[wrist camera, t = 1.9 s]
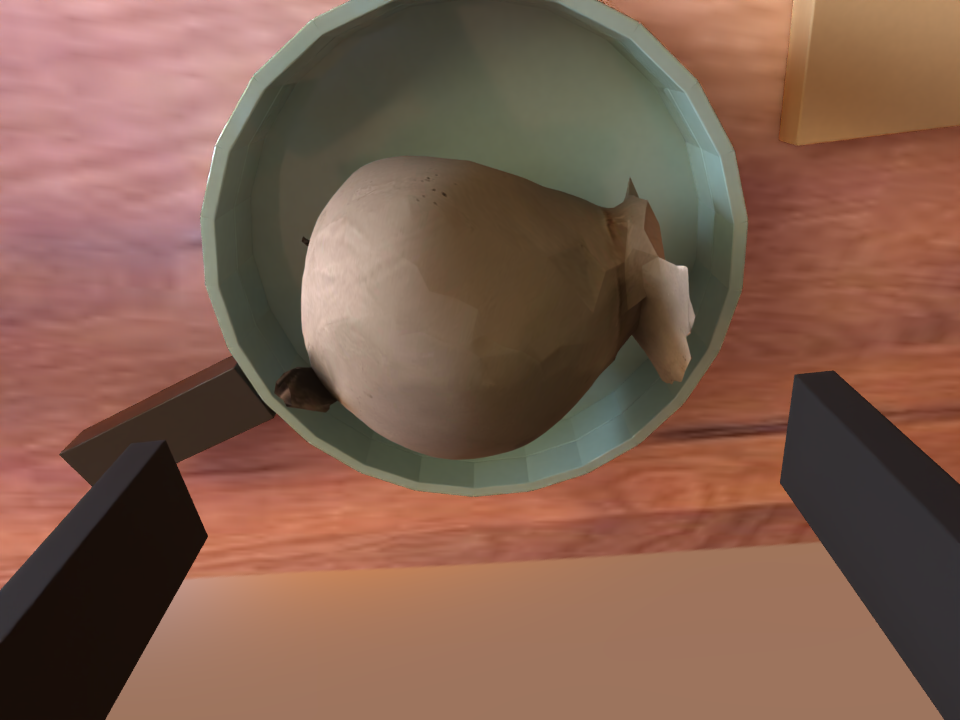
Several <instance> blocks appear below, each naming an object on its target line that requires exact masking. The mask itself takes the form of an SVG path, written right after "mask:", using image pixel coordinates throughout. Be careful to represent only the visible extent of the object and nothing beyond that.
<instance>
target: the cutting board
mask: <svg viewBox="0 0 960 720" xmlns="http://www.w3.org/2000/svg"><path fill="white" fill-rule="evenodd" d="M954 126H960V0H793V8H792V18H791V27H790V37H789V46H788V56H787V65H786V75H785V84H784V94H783V104H782V113H781V123H780V132H779V140H780V141H783V142H786V143H789V144H793V145H796V146H802V145H810V144H818V143H826V142H834V141H842V140H850V139H858V138H866V137H874V136H882V135H890V134H898V133H906V132H914V131H922V130H930V129H938V128H946V127H954Z"/></svg>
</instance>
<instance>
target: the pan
mask: <svg viewBox="0 0 960 720" xmlns="http://www.w3.org/2000/svg"><path fill="white" fill-rule="evenodd" d="M253 76H254V77H252V78H251V80H250V82H249V83H248V85H247V87H246V89H245V91H244V93H243V94H242V96H241V98H240V100H239V102H238V103H237V105H236V107H235V109H234V111H233V113H232V114H231V116H230V118H229V120H228V122H227V124H226V125H225V127H224V129H223V131H222V133H221V134H220V136H219V138H218V140H217V142H216V145H215V147H214V152H213V157H212V162H211V167H210V171H209V176H208V181H207V186H206V191H205V195H204V200H203V205H202V210H201V214H200V215H201V217H200V223H201V236H202V249H203V262H204V275H205V285H206V289H207V292H208V295H209V297H210V300H211V303H212V306H213V309H214V311H215V314H216V317H217V320H218V323H219V325H220V328H221V331H222V334H223V337H224V339H225V342H226V345H227V347H228V349H229V351H230V353H231V354H232V356H233V357H234V359H235V360H236V362H237V363H238V365H239V366H240V367H241V369H242V370H243V372H244V373H245V375H246V376H247V378H248V379H249V381H250V382H251V384H252V385H253V387H254V388H255V390H256V391H257V393H258V394H259V396H260V397H261V399H262V400H263V401H264V402H265V403H266V404H267V405H268V406H269V407H270V408H271V409H272V410H273V411H274V412H275V413H276V414H278V415H279V416H280V417H281V418H282V419H283V420H284V421H285V422H286V423H287V424H288V425H289V426H291V427H292V428H293V429H294V430H295V431H296V432H297V433H298V434H299V435H300V436H301V437H302V438H304V439H305V440H306V441H307V442H309V444H311V445H313V446H315V447H316V448H318V449H320V450H322V451H323V452H325V453H327V454H328V455H330V456H332V457H334V458H335V459H337V460H339V461H341V462H342V463H344V464H346V465H348V466H349V467H351V468H353V469H354V470H356V471H358V472H361V473H362V474H365V475H368V476H372V477H375V478H378V479H381V480H384V481H387V482H390V483H393V484H396V485H399V486H402V487H406V488H409V489H412V490H416V491H423V492H432V493H441V494H451V495H460V496H469V497H473V496H474V497H478V496H489V495H499V494H509V493H519V492H529V491H531V490H532V491H534V490H537V489H540V488H544V487H547V486H550V485H553V484H556V483H560V482H563V481H566V480H569V479H572V478H575V477H579V476H582V475H585V474H587V473H590V472H591V471H593V470H595V469H597V468H598V467H600V466H602V465H604V464H605V463H607V462H609V461H611V460H613V459H614V458H616V457H618V456H620V455H621V454H623V453H625V452H627V451H628V450H630V449H632V448H634V447H635V446H637V445H638V444H640V443H641V442H642V441H643V440H645V439H646V438H647V437H648V436H649V435H650V434H651V433H652V432H653V431H654V430H656V429H657V428H658V427H659V426H660V425H661V424H662V423H663V422H664V421H665V420H667V419H668V418H669V417H670V416H671V415H672V414H673V413H674V412H675V411H677V410H678V409H679V408H680V407H681V406H682V405H683V403H685V402H686V400H687V399H688V397H689V396H690V394H691V393H692V391H693V390H694V388H695V387H696V386H697V384H698V383H699V381H700V380H701V378H702V377H703V375H704V374H705V372H706V371H707V369H708V368H709V367H710V365H711V364H712V362H713V361H714V359H715V358H716V356H717V355H718V353H719V351H720V349H721V347H722V344H723V341H724V339H725V336H726V333H727V330H728V328H729V325H730V322H731V320H732V317H733V314H734V311H735V309H736V306H737V303H738V301H739V298H740V295H741V292H742V288H743V277H744V265H745V254H746V243H747V231H748V216H747V211H746V205H745V200H744V195H743V190H742V185H741V180H740V175H739V169H738V164H737V159H736V154H735V150H733V149H734V147H733V145H732V143H731V142H730V140H729V138H728V136H727V134H726V132H725V130H724V128H723V126H722V124H721V123H720V121H719V119H718V117H717V115H716V113H715V111H714V109H713V107H712V105H711V104H710V102H709V100H708V98H707V96H706V94H705V92H704V90H703V88H702V87H701V85H700V83H699V82H698V80H697V79H696V78H695V77H694V76H693V75H692V74H691V73H690V72H689V71H688V70H687V69H686V68H685V67H684V66H683V65H682V64H681V63H680V62H679V61H678V60H677V59H676V58H675V57H674V56H673V55H672V54H671V53H670V52H669V51H668V50H667V49H666V48H665V47H664V46H663V45H662V44H661V43H660V42H659V41H658V40H657V39H656V38H655V37H654V36H653V35H652V34H651V33H650V32H649V31H648V30H647V29H646V28H645V27H644V26H643V25H642V24H641V23H639V22H638V21H636V20H635V19H633V18H631V17H629V16H627V15H625V14H623V13H621V12H619V11H617V10H615V9H613V8H611V7H609V6H607V5H606V4H604V3H602V2H600V1H598V0H349V1H347V2H345V3H343V4H341V5H339V6H337V7H335V8H333V9H331V10H329V11H327V12H325V13H323V14H321V15H319V16H317V17H315V18H314V19H313V20H310V21H309V22H308V23H307V24H306V25H305V26H304V27H303V28H302V29H301V30H300V31H299V32H298V33H297V34H296V35H295V36H294V37H292V38H291V39H290V40H289V41H288V42H287V43H286V44H285V45H284V46H283V47H282V48H281V49H280V50H279V51H278V52H277V53H276V54H275V55H274V56H273V57H272V58H271V59H270V60H268V61H267V62H266V63H265V64H264V65H263V66H262V67H261V68H260V69H259V70H258V71H257V72H256V73H255V74H254V75H253ZM406 155H407V156H429V157H438V158H447V159H458V160H469V161H472V162H475V163H479V164H482V165H485V166H488V167H491V168H495V169H498V170H501V171H504V172H507V173H510V174H514V175H517V176H520V177H523V178H525V179H528V180H530V181H532V182H534V183H537V184H539V185H541V186H544V187H547V188H551V189H555V190H559V191H562V192H565V193H568V194H571V195H574V196H577V197H579V198H582V199H585V200H587V201H589V202H591V203H593V204H595V205H597V206H601V207H606V208H614V207H616V206H617V205H619V204H621V203H622V202H623V201H624V199H625V196H626V192H627V187H628V182H629V178H631V180H632V182H633V185H634V187H635V189H636V192H637V194H638V196H639V198H641V199H645V200H648V202H649V204H650V206H651V208H652V210H653V212H654V214H655V216H656V218H657V220H658V223H659V225H660V231H661V237H662V243H663V249H664V256H665V260H666V261H668V262H670V263H672V264H674V265H676V266H686V267H687V268H688V281H689V297H690V301H691V304H692V307H693V311H694V314H695V319H694V323H693V326H692V330H691V334H689V335H688V336H686V339H687V343H688V347H689V351H690V354H691V356H692V359H691V361H690V362H689V364H688V366H687V368H686V370H685V373H684V377H683V380H682V382H678V381H674V382H673V384H670V383H665V382H664V381H662V379H661V378H660V376H659V374H658V372H657V371H656V369H655V367H654V366H653V364H652V362H651V361H650V359H649V358H648V356H647V355H646V353H645V352H644V350H643V349H642V348H641V346H640V345H639V344H638V342H637V341H636V340H635V339H634V337H633V336H632V335H631V336H630V337H629V339H628V340H627V341H626V342H625V344H624V345H623V346H622V348H621V349H620V350H619V351H618V353H617V356H616V359H615V360H614V361H613V362H612V363H611V364H610V365H609V366H608V367H607V368H606V369H605V370H604V371H603V372H602V373H601V374H600V375H599V377H598V378H597V379H596V380H595V382H594V383H593V385H592V386H591V387H590V388H589V390H588V391H587V392H586V393H585V394H584V396H583V397H582V398H581V399H580V400H579V402H578V403H577V404H576V405H575V406H574V407H573V408H572V409H571V410H570V411H569V412H568V413H567V414H566V415H565V416H564V417H563V418H562V419H561V420H560V421H559V422H557V423H556V424H555V425H554V426H553V427H552V428H550V429H549V430H548V431H547V432H545V433H544V434H543V435H541V436H540V437H538V438H537V439H535V440H534V441H532V442H530V443H529V444H527V445H525V446H523V447H520V448H518V449H515V450H513V451H509V452H505V453H501V454H497V455H493V456H488V457H483V458H476V459H463V460H451V459H442V458H436V457H431V456H428V455H425V454H422V453H419V452H416V451H413V450H410V449H408V448H405V447H403V446H401V445H399V444H396V443H394V442H392V441H390V440H388V439H387V438H385V437H383V436H381V435H380V434H378V433H376V432H375V431H374V430H372V429H371V428H370V427H368V426H367V425H366V424H365V423H364V422H363V421H361V420H360V419H359V418H358V417H356V416H355V415H354V414H353V413H351V412H350V411H349V410H348V409H346V408H345V407H344V406H343V405H342V404H341V403H340V402H338V401H336V402H335V403H333V404H332V405H330V409H329V410H328V411H327V412H326V413H325V412H317V411H311V410H305V409H299V408H291V407H286V405H285V403H284V401H283V400H282V399H281V398H280V397H278V396H277V395H276V394H275V393H274V391H275V385H276V381H277V380H278V379H279V378H280V377H281V376H282V375H283V373H285V372H287V371H289V370H292V369H294V368H296V367H311V363H310V359H309V355H308V352H307V349H306V346H305V340H304V336H303V332H302V321H301V294H302V278H303V274H304V269H305V260H306V255H307V250H308V246H306V245H305V244H304V243H303V242H302V238H303V236H304V237H305V238H306V239H308V240H310V238H311V235H312V232H313V230H314V227H315V225H316V222H317V220H318V217H319V216H320V214H321V213H322V211H323V209H324V208H325V207H326V205H327V204H328V202H329V201H330V200H331V198H332V197H333V196H334V194H335V193H336V192H337V191H338V189H339V188H340V187H341V186H342V185H343V184H344V182H345V181H346V180H347V179H348V178H349V177H350V176H351V175H352V174H353V173H354V172H355V171H357V170H358V169H359V168H361V167H362V166H364V165H367V164H369V163H371V162H373V161H377V160H381V159H385V158H389V157H398V156H406Z"/></svg>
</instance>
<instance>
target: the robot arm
mask: <svg viewBox="0 0 960 720" xmlns="http://www.w3.org/2000/svg"><path fill="white" fill-rule="evenodd" d="M780 484H781V485H782V486H783V488H784V489H785V491H786V492H787V494H788V495H789V497H790V498H791V499H792V501H793V502H794V504H795V505H796V507H797V508H798V510H799V511H800V512H801V514H802V515H803V517H804V518H805V520H806V521H807V522H808V524H809V525H810V527H811V528H812V530H813V531H814V533H815V534H816V535H817V537H818V538H819V540H820V541H821V543H822V544H823V546H824V547H825V548H826V550H827V551H828V553H829V554H830V556H831V557H832V558H833V560H834V561H835V563H836V564H837V566H838V567H839V569H840V570H841V571H842V573H843V574H844V576H845V577H846V578H847V580H848V582H849V583H850V584H851V586H852V587H853V589H854V590H855V592H856V593H857V595H858V596H859V597H860V599H861V600H862V602H863V603H864V604H865V606H866V607H867V609H868V610H869V612H870V613H871V615H872V616H873V617H874V619H875V620H876V622H877V623H878V625H879V626H880V628H881V629H882V630H883V632H884V633H885V635H886V636H887V638H888V639H889V641H890V642H891V643H892V645H893V646H894V648H895V649H896V651H897V652H898V653H899V655H900V656H901V658H902V659H903V661H904V662H905V663H906V665H907V666H908V668H909V669H910V671H911V672H912V674H913V675H914V677H915V678H916V679H917V681H918V682H919V684H920V685H921V687H922V688H923V690H924V691H925V692H926V694H927V695H928V697H929V698H930V700H931V701H932V702H933V704H934V705H935V707H936V708H937V710H938V711H939V713H940V714H941V715H942V717H943V718H944V720H960V484H959V483H958V482H957V481H955V480H954V479H953V478H952V477H951V476H950V475H949V474H948V473H947V472H945V471H944V470H943V469H942V468H941V467H940V466H939V465H938V464H937V463H936V462H934V461H933V460H932V459H931V458H930V457H929V456H928V455H927V454H926V453H924V452H923V451H922V450H921V449H920V448H919V447H918V446H917V445H916V444H914V443H913V442H912V441H911V440H910V439H909V438H908V437H907V436H906V435H905V434H903V433H902V432H901V431H900V430H899V429H898V428H897V427H896V426H895V425H893V424H892V423H891V422H890V421H889V420H888V419H887V418H886V417H885V416H883V415H882V414H881V413H880V412H879V411H878V410H877V409H876V408H875V407H874V406H872V405H871V404H870V403H869V402H868V401H867V400H866V399H865V398H864V397H862V396H861V395H860V394H859V393H858V392H857V391H856V390H855V389H854V388H852V387H851V386H850V385H849V384H848V383H847V382H846V381H845V380H844V379H843V378H841V377H840V376H839V375H838V374H837V373H836V372H835V371H825V372H815V373H805V374H796V375H795V376H794V383H793V390H792V398H791V405H790V412H789V420H788V427H787V435H786V442H785V449H784V457H783V464H782V471H781V479H780ZM207 537H208V535H207V533H206V531H205V528H204V526H203V524H202V522H201V519H200V517H199V515H198V512H197V510H196V508H195V506H194V503H193V501H192V499H191V496H190V494H189V492H188V490H187V487H186V485H185V483H184V480H183V478H182V476H181V474H180V471H179V469H178V467H177V464H176V462H175V460H174V458H173V455H172V453H171V451H170V449H169V446H168V444H167V442H166V440H158V441H149V442H139V443H131V444H130V445H129V446H128V447H127V449H126V450H125V451H124V452H123V453H122V454H121V455H120V456H119V458H118V459H117V460H116V461H115V462H114V463H113V464H112V465H111V467H110V468H109V469H108V470H107V471H106V472H105V473H104V474H103V476H102V477H101V478H100V479H99V480H98V481H97V482H96V483H95V484H94V486H93V487H92V488H91V489H90V490H89V491H88V492H87V493H86V495H85V496H84V497H83V498H82V499H81V500H80V501H79V502H78V504H77V505H76V506H75V507H74V508H73V509H72V510H71V511H70V513H69V514H68V515H67V516H66V517H65V518H64V519H63V520H62V522H61V523H60V524H59V525H58V526H57V527H56V528H55V529H54V530H53V532H52V533H51V534H50V535H49V536H48V537H47V538H46V539H45V541H44V542H43V543H42V544H41V545H40V546H39V547H38V548H37V550H36V551H35V552H34V553H33V554H32V555H31V556H30V557H29V559H28V560H27V561H26V562H25V563H24V564H23V565H22V566H21V568H20V569H19V570H18V571H17V572H16V573H15V574H14V575H13V576H12V578H11V579H10V580H9V581H8V582H7V583H6V584H5V585H4V587H3V588H2V589H1V590H0V720H105V719H106V717H107V715H108V713H109V712H110V710H111V708H112V706H113V705H114V703H115V701H116V699H117V698H118V696H119V694H120V692H121V690H122V689H123V687H124V685H125V683H126V682H127V680H128V678H129V676H130V674H131V673H132V671H133V669H134V667H135V666H136V664H137V662H138V660H139V658H140V657H141V655H142V653H143V651H144V649H145V648H146V646H147V644H148V642H149V640H150V639H151V637H152V635H153V634H154V632H155V630H156V628H157V626H158V625H159V623H160V621H161V619H162V617H163V616H164V614H165V612H166V610H167V608H168V607H169V605H170V603H171V601H172V600H173V598H174V596H175V594H176V593H177V591H178V589H179V587H180V585H181V584H182V582H183V580H184V578H185V577H186V575H187V573H188V571H189V569H190V568H191V566H192V564H193V562H194V561H195V559H196V557H197V555H198V553H199V552H200V550H201V548H202V546H203V545H204V543H205V541H206V539H207Z"/></svg>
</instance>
